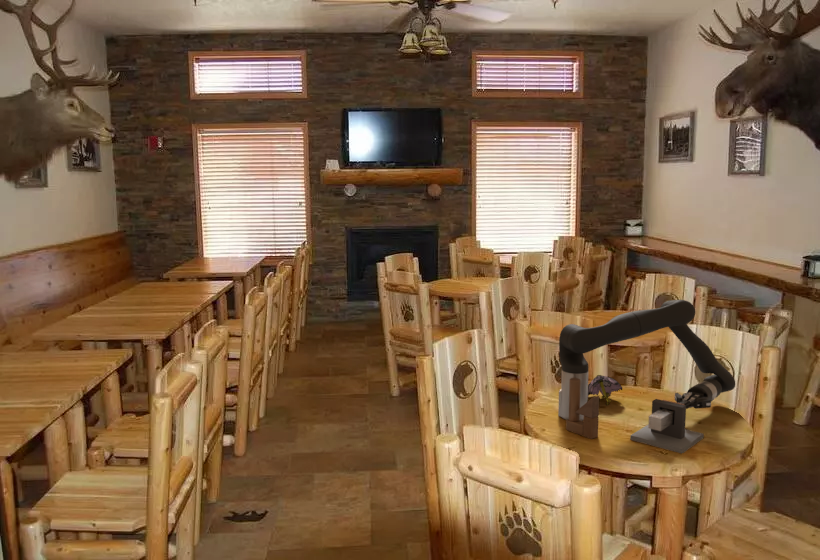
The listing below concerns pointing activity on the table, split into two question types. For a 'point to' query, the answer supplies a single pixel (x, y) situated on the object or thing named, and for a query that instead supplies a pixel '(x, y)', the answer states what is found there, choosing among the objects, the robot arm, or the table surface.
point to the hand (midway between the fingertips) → (682, 406)
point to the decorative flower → (603, 386)
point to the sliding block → (661, 418)
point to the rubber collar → (679, 418)
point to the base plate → (667, 439)
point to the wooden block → (582, 412)
